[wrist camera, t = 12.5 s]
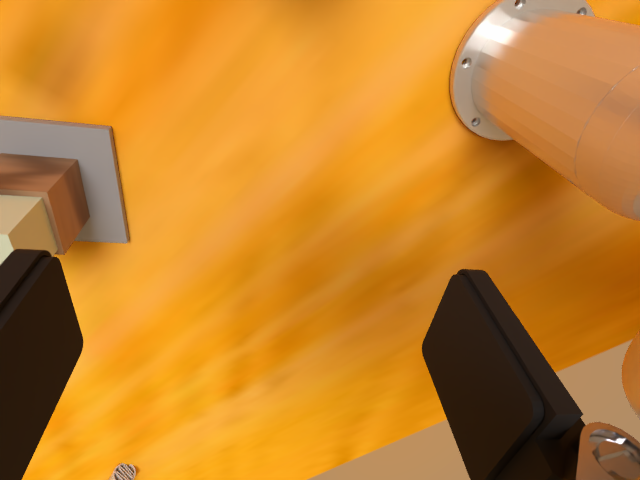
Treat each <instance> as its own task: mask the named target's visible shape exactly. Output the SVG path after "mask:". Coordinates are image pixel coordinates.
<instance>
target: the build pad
mask: <svg viewBox="0 0 640 480" xmlns="http://www.w3.org/2000/svg"><path fill="white" fill-rule="evenodd" d="M1 153H7V154H19V155H31V156H44V157H56V158H68V159H78V164H79V169H80V173H81V178H82V182H83V187H84V191H85V196H86V200H87V205H88V209H89V214H90V218H89V219H88V221H87V222H86V224H85V225H84V227H83V228H82V230H81V231H80V233H79V234H78V235H77V237H76V238H75V240H74V241H89V242H110V243H128V241H129V232H128V226H127V220H126V214H125V207H124V201H123V195H122V189H121V182H120V176H119V170H118V164H117V157H116V151H115V145H114V139H113V132H112V126H102V125H92V124H81V123H71V122H60V121H50V120H39V119H29V118H18V117H8V116H0V154H1Z"/></svg>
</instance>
